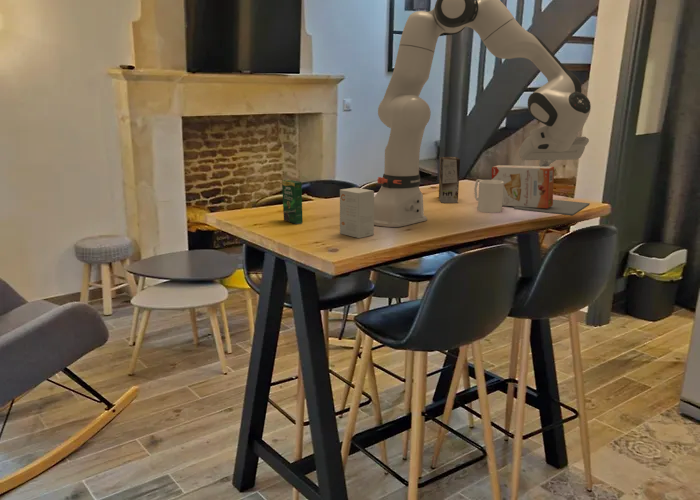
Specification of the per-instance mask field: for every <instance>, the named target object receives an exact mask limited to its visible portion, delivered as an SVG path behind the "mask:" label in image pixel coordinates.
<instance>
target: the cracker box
mask: <svg viewBox="0 0 700 500" xmlns="http://www.w3.org/2000/svg"><path fill="white" fill-rule="evenodd" d="M554 174H555V166H550V165H549V166H548V167H540V166H539V165H538V166H537V165H509V164H508V165H507V164H506V165H505V164H504V165H498V164H497V165H494V166H492V167H491V180H499V181H503V182H504V187H503V201H502V207H503V206H506V207H516V206H518V207H532V208H549V207H551V206H553V200H554V199H553V198H554V182H555V180H554V177H555V176H554Z"/></svg>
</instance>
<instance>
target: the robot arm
mask: <svg viewBox="0 0 700 500" xmlns="http://www.w3.org/2000/svg"><path fill="white" fill-rule="evenodd" d="M465 28H470V29H472V30H473V31H474V32H476V34H477V35H478V36H479V38H480V39H481V41H482V42H483V44H484V46H485V47H486V48H487V50H488V51H489V52H490V54H492V55H493V56H494V57H495V58H499V59H503V60H511V59H521V58H522V59H526V60H529V61H531V62H532V63H533V64H534V66H536V68H537V69H538V70H539V71H540V73H541V74H542V75H543V77H545V78H546V79H547V82H546V83H545V84H543V85H542V86H540V87H538V89H536V90H534V92H532V93H531V94H529V96H528V99H527V109H528V112H529V114H530V115H531V117H533V118H534V119H535V120H536V121H538V122H540V123H542V124H543V125H544V126H542V127H538V128H533V129H531V130H529V136H527V137H526V138H525V139H524V140H523V141H522V143H521V145H520V147H519V149H518V154H519V157H520V158H519V159H521V160H522V161H538V166H540V167H548V166H550V164H553V163H554V162H556V161H558V160H559V161H564V160H566V161H568V160H569V161H570V160H571V161H572V160H573V161H574V160H575V161H576V160H578V159H580V158H582V156H583V154H584V152H585V149H586V146H587V145H588V144H589V141H590V140H589V138H588V137H586V136H578V134H579V132H580V131H582V128H583V127H584V126H585V123H586V122H587V120H588V117H589V115H590V113H591V108H592V107H591V105H592V104H591V101H590V99H589V98H588V97H587V95H585V94H584V93H582V84H581V81H580V79H579V78H578V77H577V75H576V74H574V73H573V72H572V71H571V70H569V69H568V68H566V67H565V66H564V64H563V63H562V62H561V61H560V60H559V59H558V58H557V57H556V55H555V54H554V53H553V52H552V51H551V50H550V48H548V46H547V45H546V43H544V42H543V41H542V40H541V39H540V37H538V36H537V35H535V34H534V33H532V32H529V31H527V30H526V29H525V28H524V27H522V26H521V24H520V23H519V22H518V21H517V20H516V18H515V16H514V15H513V14H512V12H511V11H510V10H509V9H508V8H507V6H506V5H505V4H504V3H503V2H502V1H501V0H436V2H435V4H434V7H433V9H431V10H430V11H425V10H418V11H413V12H412V13H411V14H409V16H408V17H407V19H406V22H405V23H404V27H403V30H402V33H401V37H400V40H399V46H398V49H397V53H396V58H395V63H394V67H393V72H392V75H391V77H390V80H389V82H388V85H387V88H386V90H385V93H384V96H383V98H382V100H381V101H380V103H379V105H378V107H377V115H378V118H379V120H380V122H382V124H384V125H385V126H386V127H387V128H389V129H390V132H389V136H388V137H389V138H388V141H387V145H386V146H385V148H384V173H383V174H382V177H380V176H378V177H377V180H376V181H377V184H380V188H379V190H378V191H377V192H376V194H374V226H378V227H379V226H380V227H385V228H386V227H389V228H401V227H403V226H409V225H414V224H418V223H421V222H426V221H427V220H428V218H427V216H426V215H424V214H425V213H424V194H423V193H422V192H421V189H420V187H419V186H420V185H421V174H420V155H421V153H420V152H421V147H422V146H421V145H422V141H423V136H424V133H425V130H426V126H427V125H428V124H429V121H430V120H431V107H430V105H429V104H428V102H427V101H426V100H425V99H423V98H422V97H420V95H421V92H422V90H423V87H424V86H425V85H426V83H427V81H429V77H430V73H431V69H432V65H433V60H434V56H435V50H436V46H437V42H438V39H439V37H444V36H451V35H456V34H459V33H461V32H462V31H463V30H464V29H465Z"/></svg>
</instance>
